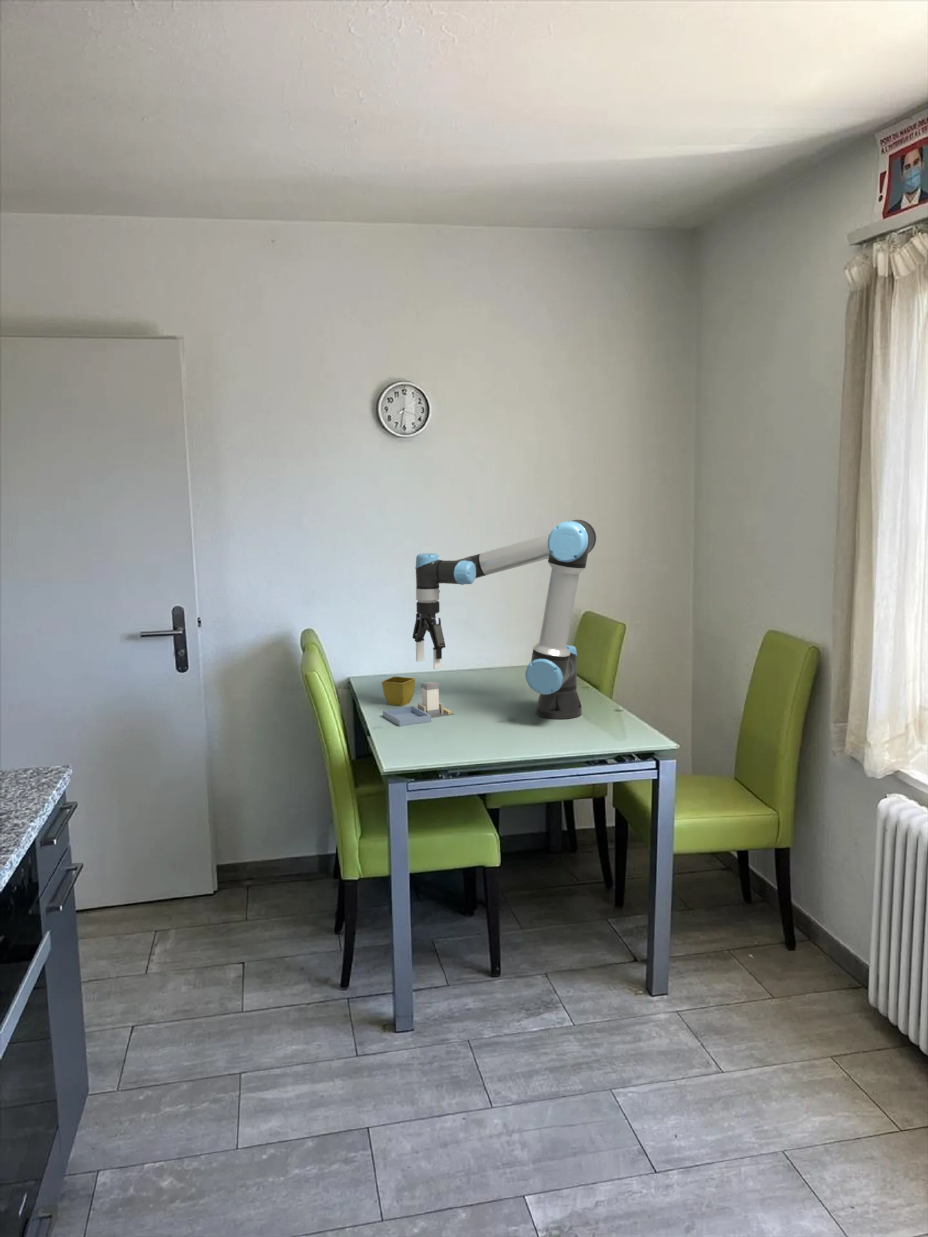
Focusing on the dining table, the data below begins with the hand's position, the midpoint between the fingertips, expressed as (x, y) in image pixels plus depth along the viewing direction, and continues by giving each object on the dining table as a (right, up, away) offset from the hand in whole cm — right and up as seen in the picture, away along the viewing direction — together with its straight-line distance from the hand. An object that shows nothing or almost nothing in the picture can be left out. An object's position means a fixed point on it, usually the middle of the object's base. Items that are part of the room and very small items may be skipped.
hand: (428, 664), depth 300 cm
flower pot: (-11, -15, +16) cm, 24 cm away
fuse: (0, -16, +2) cm, 16 cm away
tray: (-7, -18, -5) cm, 20 cm away
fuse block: (+1, -17, +3) cm, 17 cm away
